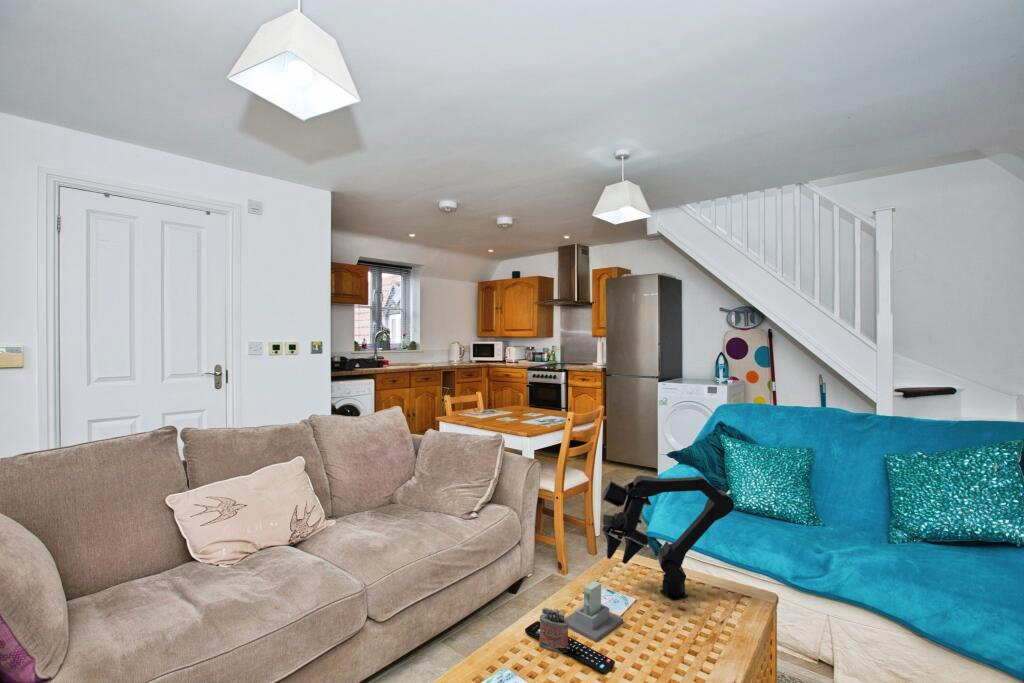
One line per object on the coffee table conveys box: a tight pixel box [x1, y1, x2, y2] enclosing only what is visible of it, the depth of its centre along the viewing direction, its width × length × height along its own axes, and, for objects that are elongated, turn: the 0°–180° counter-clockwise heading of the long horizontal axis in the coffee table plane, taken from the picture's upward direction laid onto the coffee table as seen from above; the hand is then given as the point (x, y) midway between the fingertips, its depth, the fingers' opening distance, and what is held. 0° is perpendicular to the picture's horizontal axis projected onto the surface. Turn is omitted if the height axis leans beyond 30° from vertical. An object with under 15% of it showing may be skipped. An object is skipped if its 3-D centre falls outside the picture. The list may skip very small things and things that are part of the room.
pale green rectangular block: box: [583, 580, 602, 617], centre depth 143 cm, size 2×6×10 cm, turn 134°
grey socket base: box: [564, 603, 624, 643], centre depth 143 cm, size 12×14×4 cm
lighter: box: [538, 606, 569, 654], centre depth 131 cm, size 8×3×10 cm, turn 65°
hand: (615, 560), depth 155 cm, fingers open, 9 cm apart
